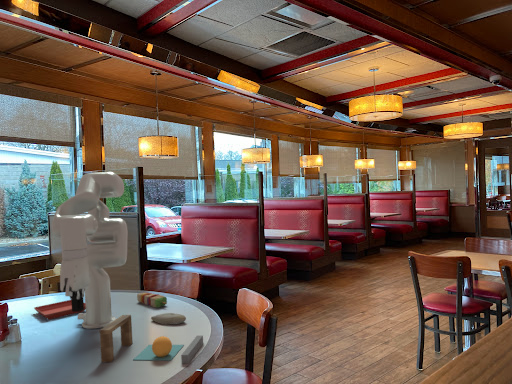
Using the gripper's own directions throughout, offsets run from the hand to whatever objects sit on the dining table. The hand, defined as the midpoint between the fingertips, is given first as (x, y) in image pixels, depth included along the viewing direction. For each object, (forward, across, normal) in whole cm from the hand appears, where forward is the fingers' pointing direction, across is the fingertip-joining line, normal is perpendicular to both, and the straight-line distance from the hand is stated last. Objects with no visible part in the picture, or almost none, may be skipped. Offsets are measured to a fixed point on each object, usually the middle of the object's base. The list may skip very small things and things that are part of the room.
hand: (78, 310), depth 135 cm
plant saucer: (+14, -44, -36) cm, 59 cm away
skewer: (+14, -54, +3) cm, 56 cm away
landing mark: (+13, 0, +27) cm, 30 cm away
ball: (+10, +3, +29) cm, 31 cm away
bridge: (+13, 0, +13) cm, 19 cm away
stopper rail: (+13, 0, +38) cm, 40 cm away
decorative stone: (+14, -30, +19) cm, 38 cm away
